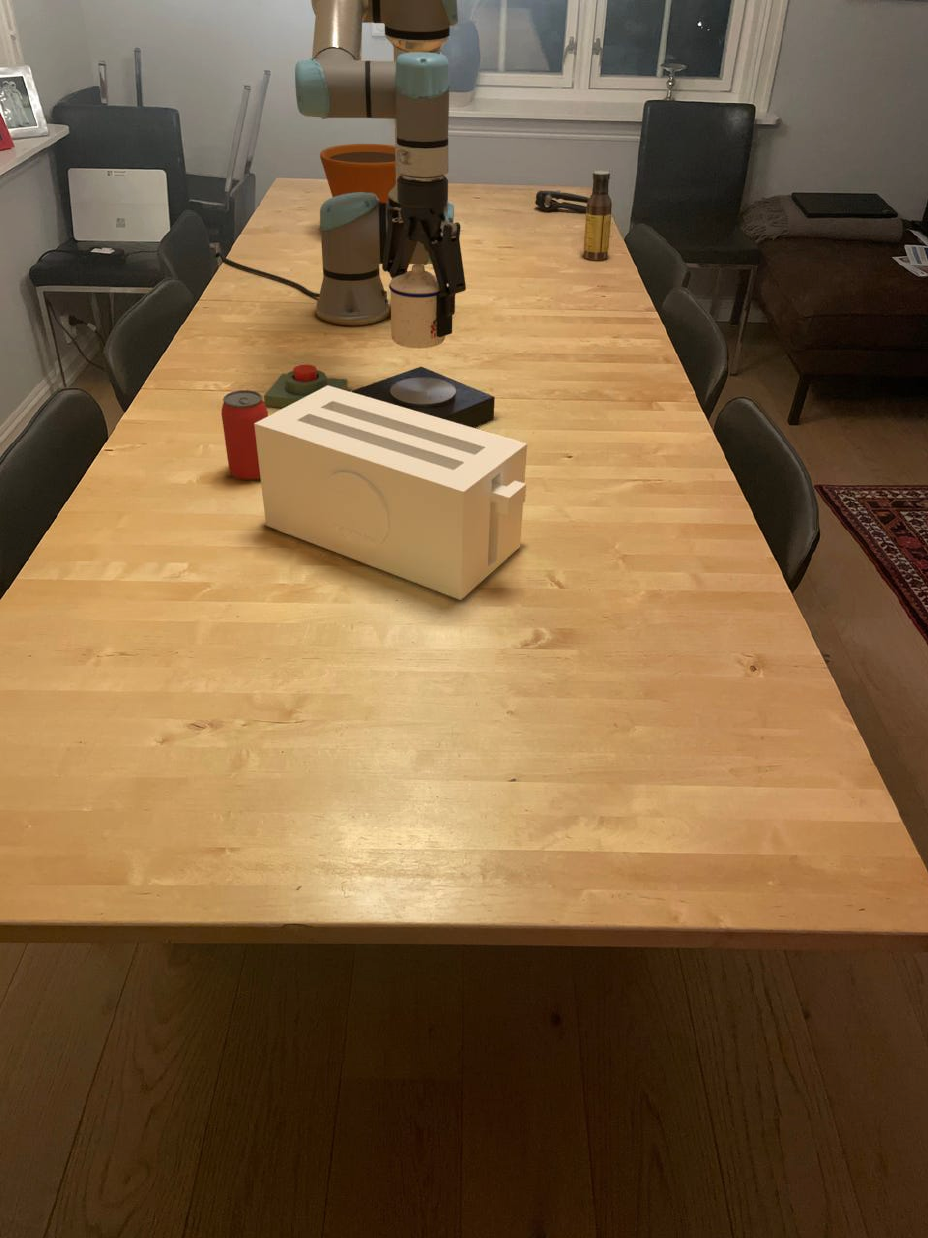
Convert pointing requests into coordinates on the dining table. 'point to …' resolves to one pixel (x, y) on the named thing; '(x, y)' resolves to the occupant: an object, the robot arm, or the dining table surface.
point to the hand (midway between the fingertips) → (423, 326)
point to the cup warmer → (433, 396)
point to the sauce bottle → (598, 218)
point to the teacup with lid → (415, 309)
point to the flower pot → (360, 169)
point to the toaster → (393, 487)
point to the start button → (305, 373)
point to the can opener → (548, 204)
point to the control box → (298, 389)
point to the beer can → (242, 432)
